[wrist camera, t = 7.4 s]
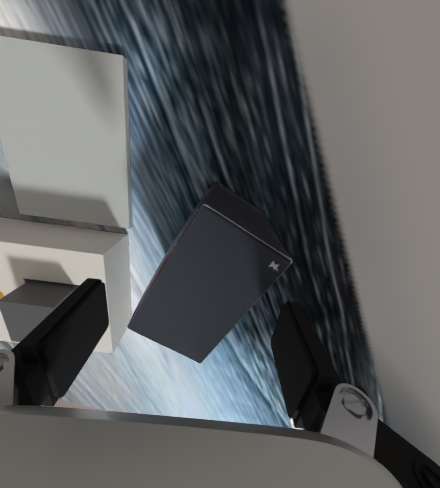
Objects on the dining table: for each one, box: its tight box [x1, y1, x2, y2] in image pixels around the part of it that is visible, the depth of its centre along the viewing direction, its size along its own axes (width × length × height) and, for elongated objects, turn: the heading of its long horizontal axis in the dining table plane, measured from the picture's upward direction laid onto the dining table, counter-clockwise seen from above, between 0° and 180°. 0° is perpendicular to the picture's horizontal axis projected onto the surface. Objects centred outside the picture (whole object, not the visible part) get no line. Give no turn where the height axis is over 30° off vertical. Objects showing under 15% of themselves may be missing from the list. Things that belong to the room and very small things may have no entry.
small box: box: [127, 181, 292, 363], centre depth 18 cm, size 11×6×10 cm, turn 147°
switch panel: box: [0, 217, 132, 353], centre depth 22 cm, size 12×14×6 cm
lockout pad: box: [0, 36, 133, 229], centre depth 19 cm, size 14×11×1 cm
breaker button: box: [0, 279, 79, 342], centre depth 20 cm, size 4×4×6 cm
